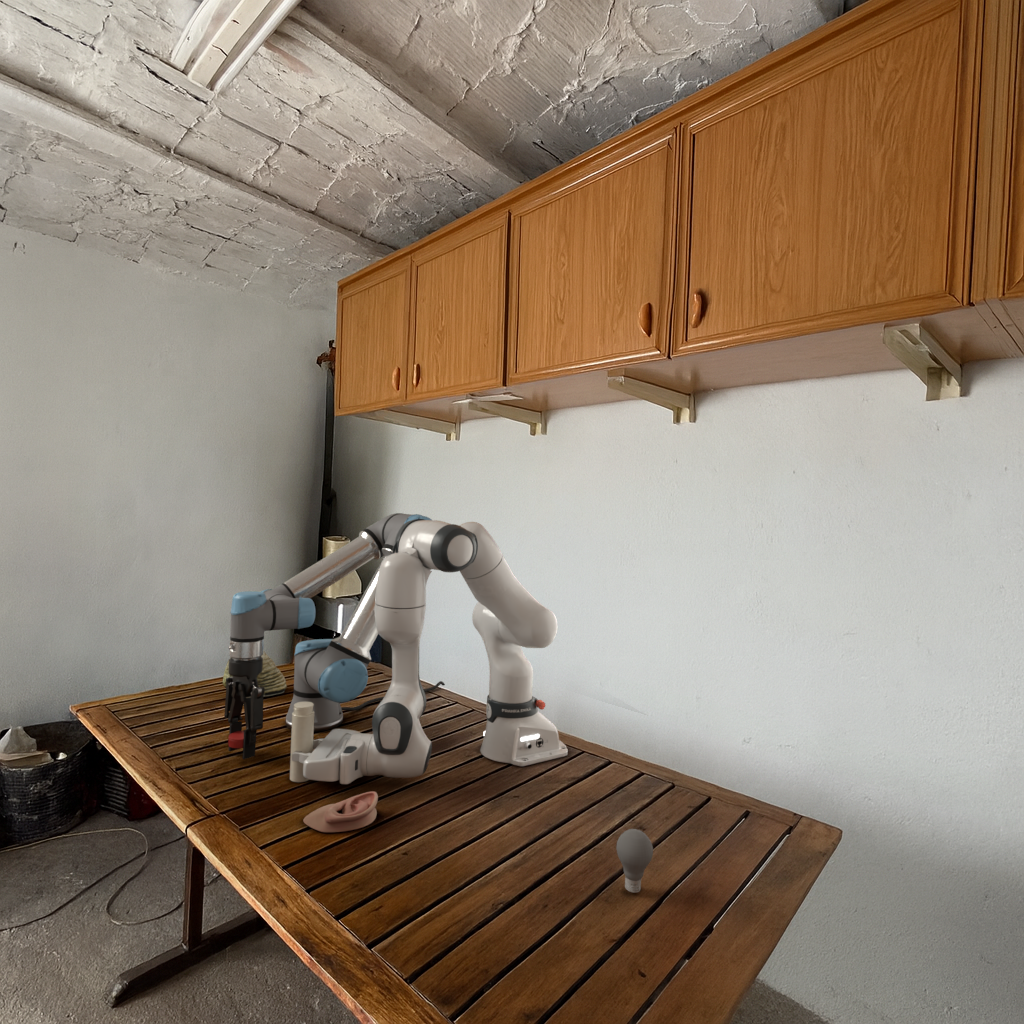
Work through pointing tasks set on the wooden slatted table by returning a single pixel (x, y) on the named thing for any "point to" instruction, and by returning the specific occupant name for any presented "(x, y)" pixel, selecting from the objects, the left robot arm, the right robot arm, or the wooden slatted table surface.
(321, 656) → the left robot arm
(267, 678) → the fossil
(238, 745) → the lid
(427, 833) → the wooden slatted table surface
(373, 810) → the anatomical model
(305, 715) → the white cylindrical bottle
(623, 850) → the light bulb
